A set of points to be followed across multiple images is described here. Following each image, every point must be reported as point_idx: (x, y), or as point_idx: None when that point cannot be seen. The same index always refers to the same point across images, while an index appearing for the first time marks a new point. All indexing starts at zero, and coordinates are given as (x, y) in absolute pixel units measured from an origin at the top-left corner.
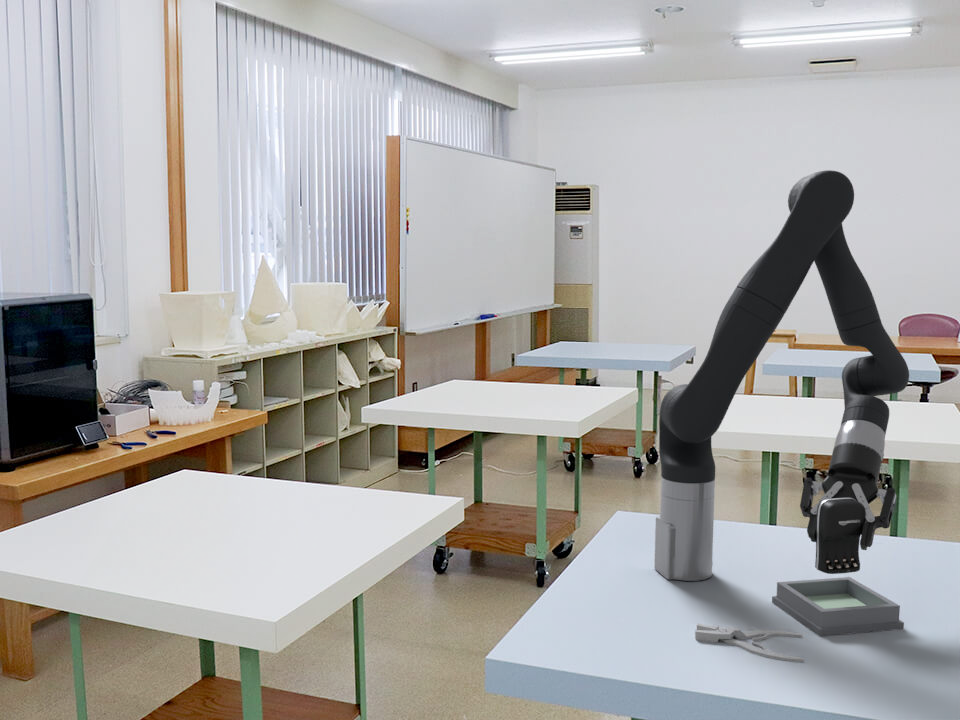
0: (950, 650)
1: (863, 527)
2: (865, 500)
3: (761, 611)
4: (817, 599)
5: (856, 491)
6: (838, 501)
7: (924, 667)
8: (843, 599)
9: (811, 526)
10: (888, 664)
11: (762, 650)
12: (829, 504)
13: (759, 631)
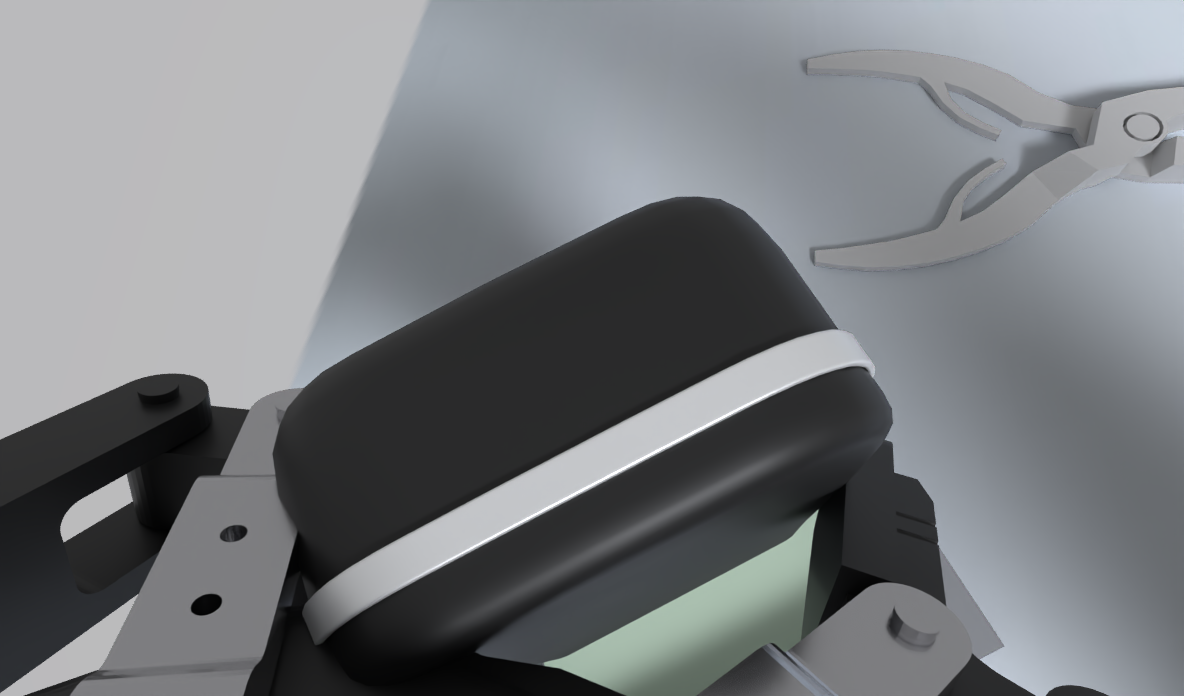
0: (322, 304)
1: None
2: (187, 538)
3: (1018, 496)
4: (754, 640)
5: (198, 682)
6: (597, 336)
7: (442, 152)
8: (623, 677)
9: (896, 520)
10: (542, 136)
11: (950, 76)
12: (734, 248)
13: (989, 232)
